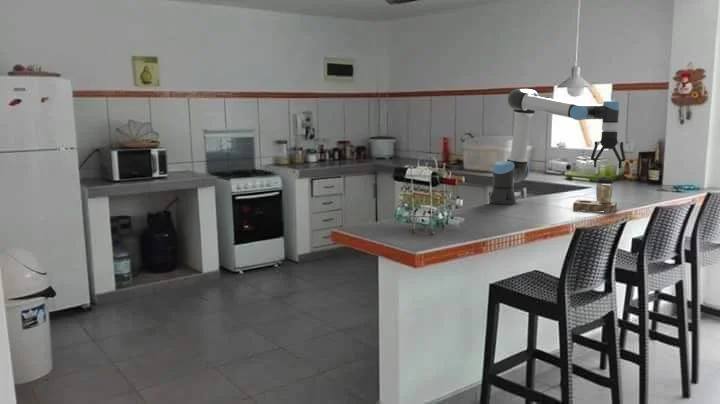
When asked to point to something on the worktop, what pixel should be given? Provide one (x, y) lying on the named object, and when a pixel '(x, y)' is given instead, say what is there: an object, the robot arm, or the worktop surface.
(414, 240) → the worktop surface
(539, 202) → the worktop surface
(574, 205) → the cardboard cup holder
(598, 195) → the coffee cup
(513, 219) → the worktop surface
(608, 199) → the leg
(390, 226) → the worktop surface
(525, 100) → the robot arm
